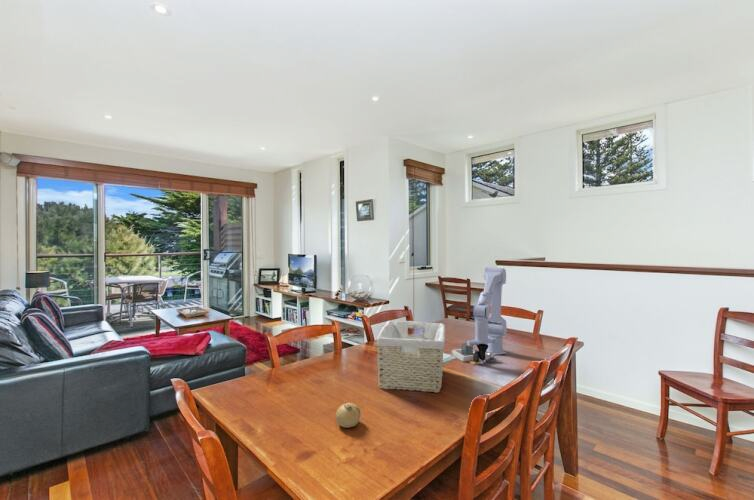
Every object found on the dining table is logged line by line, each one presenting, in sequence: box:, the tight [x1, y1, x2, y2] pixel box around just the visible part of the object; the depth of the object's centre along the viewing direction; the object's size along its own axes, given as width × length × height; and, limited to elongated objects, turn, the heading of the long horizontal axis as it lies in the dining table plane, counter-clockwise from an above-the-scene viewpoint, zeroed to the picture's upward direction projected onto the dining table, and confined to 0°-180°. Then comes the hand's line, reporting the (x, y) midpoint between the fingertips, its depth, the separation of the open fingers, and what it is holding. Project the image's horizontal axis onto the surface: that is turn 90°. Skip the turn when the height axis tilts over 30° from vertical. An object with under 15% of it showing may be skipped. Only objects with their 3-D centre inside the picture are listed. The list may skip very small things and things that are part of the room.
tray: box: [451, 348, 475, 363], centre depth 174 cm, size 11×11×2 cm
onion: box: [335, 402, 361, 429], centre depth 112 cm, size 8×8×7 cm
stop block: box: [461, 342, 474, 356], centre depth 174 cm, size 4×4×6 cm
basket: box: [376, 320, 447, 394], centre depth 147 cm, size 27×27×22 cm
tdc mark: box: [467, 361, 481, 366], centre depth 166 cm, size 4×4×1 cm
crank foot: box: [484, 357, 497, 364], centre depth 169 cm, size 5×5×1 cm
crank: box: [473, 349, 495, 363], centre depth 167 cm, size 12×3×5 cm, turn 115°
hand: (481, 359), depth 164 cm, fingers closed, pressing on crank
